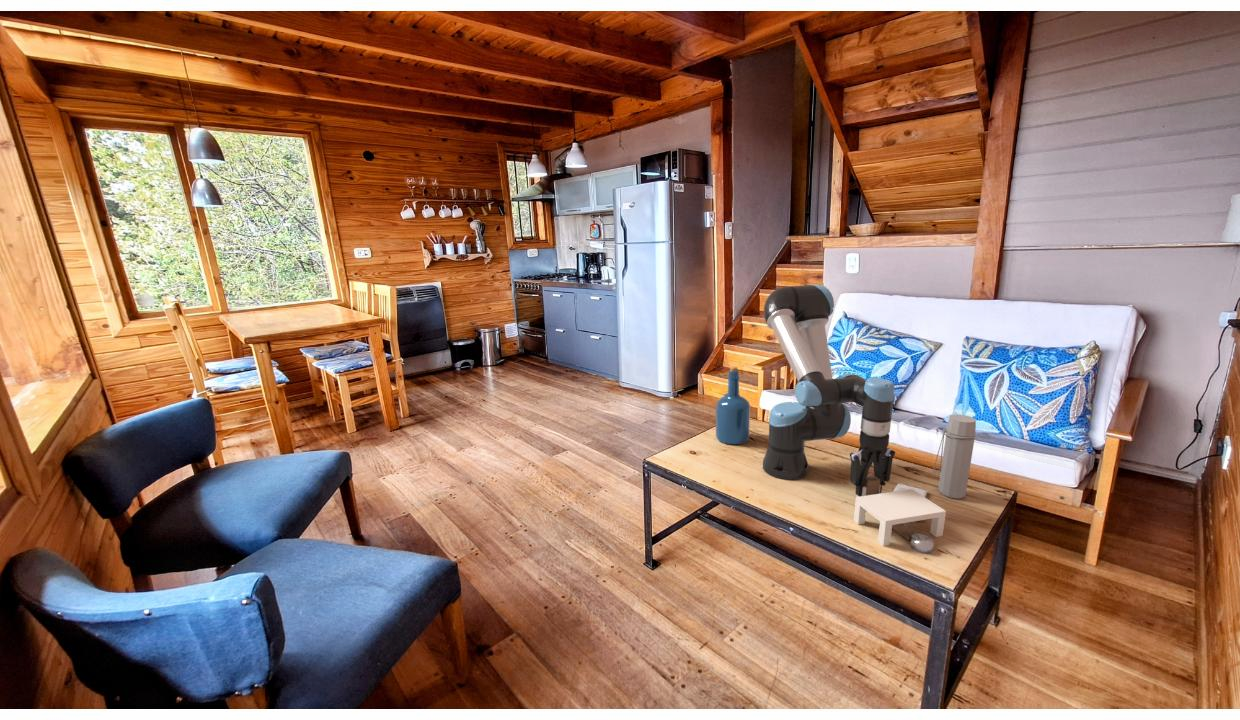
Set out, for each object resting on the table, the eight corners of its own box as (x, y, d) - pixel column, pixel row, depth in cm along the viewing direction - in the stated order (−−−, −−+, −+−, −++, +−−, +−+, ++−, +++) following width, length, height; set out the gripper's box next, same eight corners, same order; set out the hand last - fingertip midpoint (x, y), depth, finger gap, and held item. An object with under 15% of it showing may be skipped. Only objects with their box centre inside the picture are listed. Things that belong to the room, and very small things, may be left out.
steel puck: (905, 543, 129) (906, 535, 128) (922, 541, 129) (923, 532, 129) (919, 555, 124) (921, 546, 123) (937, 552, 125) (938, 544, 124)
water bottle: (968, 493, 151) (981, 417, 144) (962, 503, 145) (974, 425, 139) (934, 483, 157) (945, 410, 151) (927, 492, 152) (937, 417, 146)
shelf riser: (853, 520, 139) (855, 497, 137) (908, 511, 142) (911, 488, 140) (883, 546, 128) (885, 521, 126) (942, 535, 131) (946, 511, 129)
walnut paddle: (856, 501, 148) (859, 474, 146) (868, 499, 149) (871, 473, 147) (905, 540, 129) (909, 510, 127) (919, 538, 130) (922, 508, 128)
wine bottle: (751, 445, 189) (754, 372, 182) (717, 445, 191) (718, 372, 183) (746, 431, 202) (748, 362, 195) (714, 431, 204) (714, 362, 196)
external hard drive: (887, 503, 148) (897, 487, 157) (918, 513, 142) (926, 495, 151) (887, 499, 147) (897, 482, 156) (918, 508, 142) (927, 490, 151)
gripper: (856, 440, 135) (849, 514, 142) (910, 433, 138) (901, 506, 144) (840, 430, 143) (834, 500, 149) (891, 423, 145) (883, 493, 152)
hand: (867, 503), depth 147 cm, fingers closed on walnut paddle, 4 cm apart
